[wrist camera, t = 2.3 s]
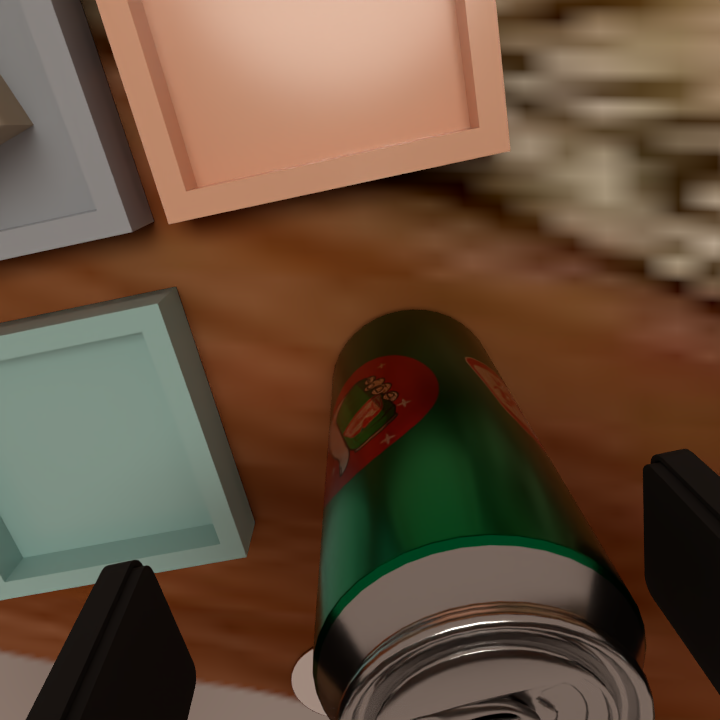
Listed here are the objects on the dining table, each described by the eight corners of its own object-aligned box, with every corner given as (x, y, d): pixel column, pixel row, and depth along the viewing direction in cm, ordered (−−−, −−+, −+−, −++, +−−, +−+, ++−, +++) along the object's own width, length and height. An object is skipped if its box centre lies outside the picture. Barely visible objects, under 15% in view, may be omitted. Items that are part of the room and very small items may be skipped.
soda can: (494, 431, 20) (681, 830, 9) (349, 456, 20) (346, 872, 9) (479, 290, 18) (693, 566, 7) (318, 319, 18) (266, 630, 7)
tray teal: (175, 286, 18) (157, 303, 16) (255, 522, 21) (246, 556, 19) (-98, 343, 18) (-144, 365, 16) (22, 564, 21) (-6, 601, 20)
